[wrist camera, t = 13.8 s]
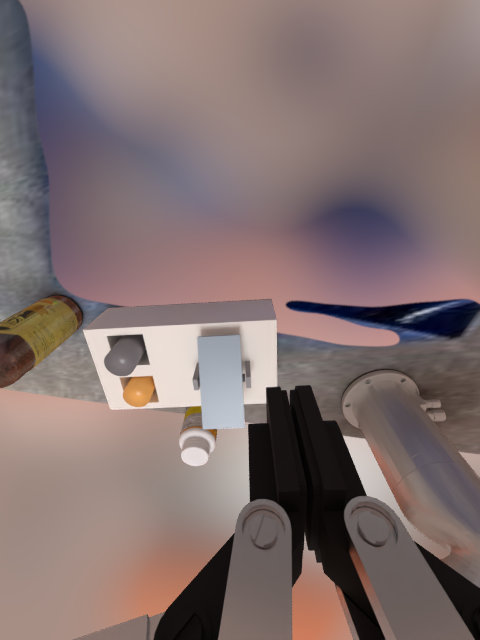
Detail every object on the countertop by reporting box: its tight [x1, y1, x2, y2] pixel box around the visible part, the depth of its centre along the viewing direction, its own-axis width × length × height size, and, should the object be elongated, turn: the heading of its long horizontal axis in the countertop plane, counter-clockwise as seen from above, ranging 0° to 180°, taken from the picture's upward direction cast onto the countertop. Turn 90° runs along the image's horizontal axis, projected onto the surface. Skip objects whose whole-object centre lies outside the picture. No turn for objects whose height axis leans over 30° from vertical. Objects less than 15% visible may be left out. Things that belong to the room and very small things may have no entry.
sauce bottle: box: [0, 296, 82, 388], centre depth 32 cm, size 6×6×20 cm
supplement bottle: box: [179, 406, 217, 466], centre depth 44 cm, size 6×6×10 cm
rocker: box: [197, 334, 245, 429], centre depth 33 cm, size 6×11×2 cm, turn 4°
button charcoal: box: [104, 334, 146, 376], centre depth 36 cm, size 4×4×8 cm
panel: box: [83, 299, 277, 410], centre depth 38 cm, size 24×13×10 cm, turn 94°
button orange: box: [123, 376, 155, 407], centre depth 40 cm, size 4×4×8 cm
